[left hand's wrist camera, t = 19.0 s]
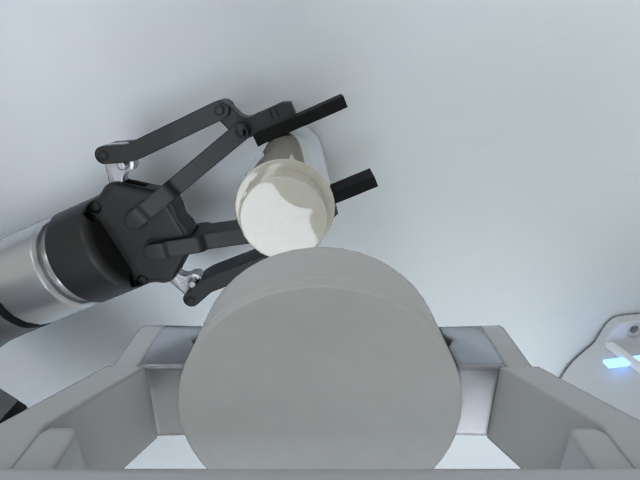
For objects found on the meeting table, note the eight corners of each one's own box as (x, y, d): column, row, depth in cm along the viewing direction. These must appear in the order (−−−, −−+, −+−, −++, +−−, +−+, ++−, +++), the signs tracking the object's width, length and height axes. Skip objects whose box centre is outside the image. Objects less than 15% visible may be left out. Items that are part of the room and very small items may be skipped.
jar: (252, 155, 37) (206, 223, 20) (290, 110, 36) (277, 142, 19) (296, 194, 38) (288, 287, 21) (335, 151, 37) (359, 215, 20)
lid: (404, 458, 11) (420, 529, 10) (193, 428, 11) (168, 497, 9) (467, 268, 10) (502, 313, 8) (214, 225, 9) (188, 261, 7)
